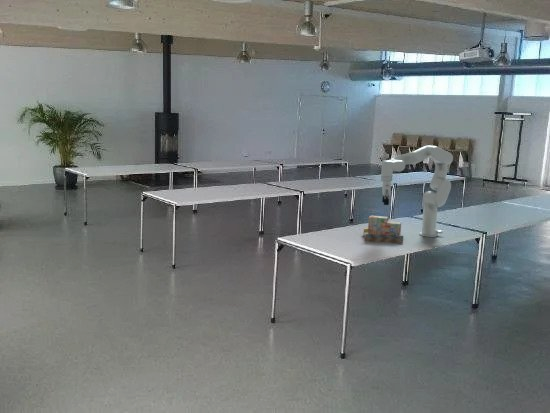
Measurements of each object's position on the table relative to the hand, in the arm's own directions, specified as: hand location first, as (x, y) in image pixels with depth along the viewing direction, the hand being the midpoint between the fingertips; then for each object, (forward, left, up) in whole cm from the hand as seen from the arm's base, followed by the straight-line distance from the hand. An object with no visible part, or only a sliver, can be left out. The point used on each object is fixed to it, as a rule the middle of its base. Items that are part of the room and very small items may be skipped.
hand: (385, 203), depth 368 cm
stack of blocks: (0, +2, -22) cm, 22 cm away
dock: (+1, +2, -24) cm, 25 cm away
